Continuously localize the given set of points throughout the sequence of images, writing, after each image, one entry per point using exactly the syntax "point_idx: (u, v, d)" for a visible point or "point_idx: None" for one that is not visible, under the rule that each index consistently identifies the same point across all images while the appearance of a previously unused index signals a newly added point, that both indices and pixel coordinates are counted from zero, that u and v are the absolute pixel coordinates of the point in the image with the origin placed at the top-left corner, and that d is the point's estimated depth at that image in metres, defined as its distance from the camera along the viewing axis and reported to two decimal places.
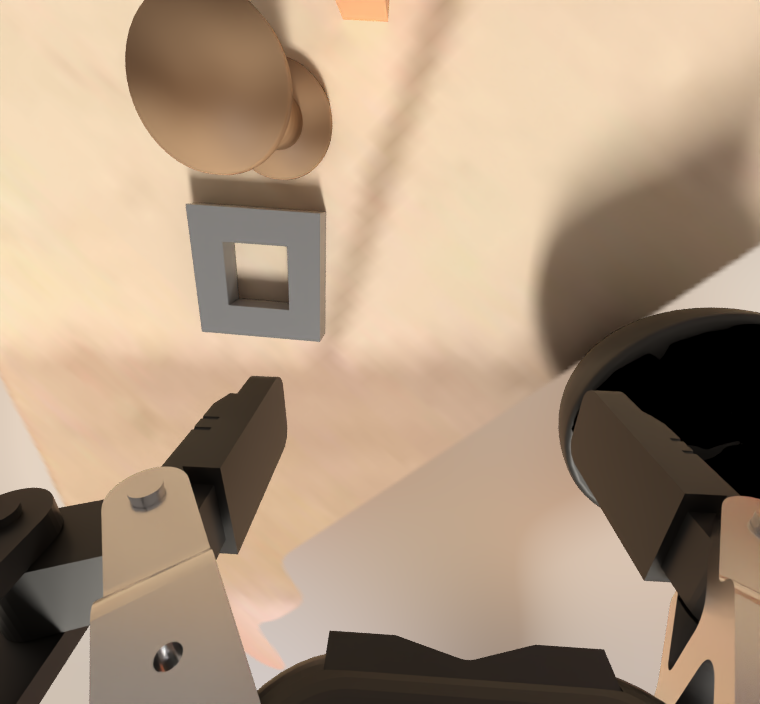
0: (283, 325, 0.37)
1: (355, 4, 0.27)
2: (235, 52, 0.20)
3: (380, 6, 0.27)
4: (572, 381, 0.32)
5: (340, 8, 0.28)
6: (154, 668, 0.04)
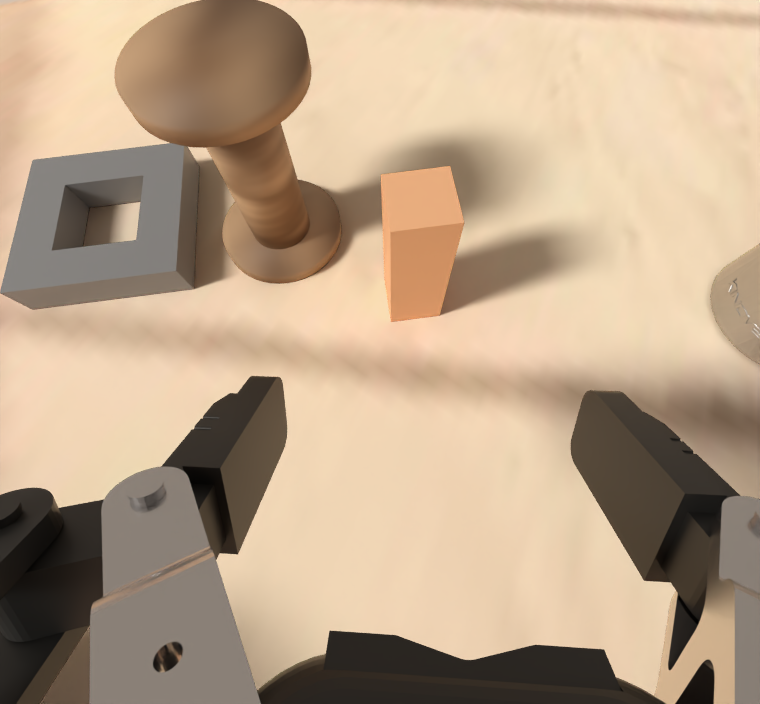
0: (31, 246, 0.27)
1: (386, 274, 0.25)
2: (243, 78, 0.17)
3: (390, 299, 0.25)
4: None
5: (384, 267, 0.27)
6: (154, 668, 0.04)
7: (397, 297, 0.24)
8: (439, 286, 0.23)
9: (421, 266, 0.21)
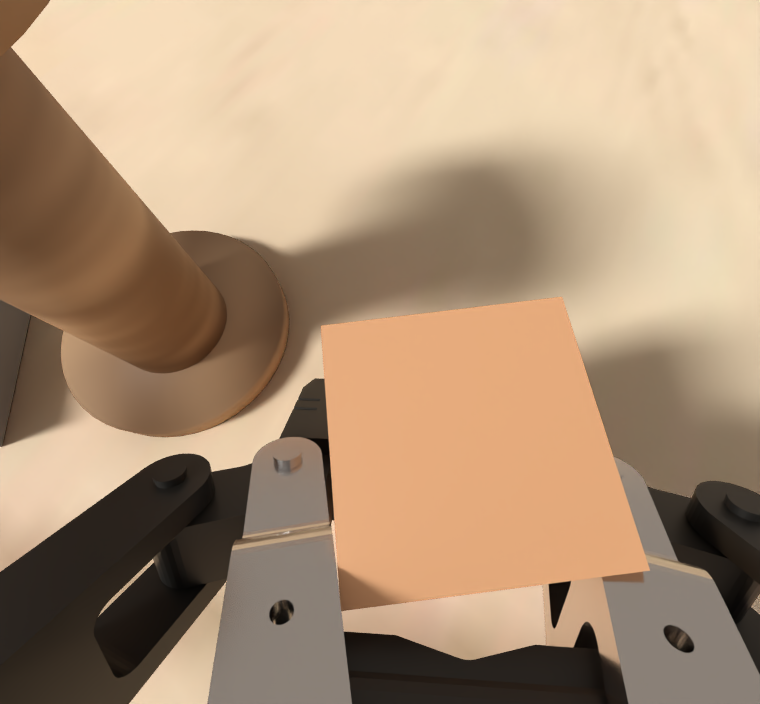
0: None
1: None
2: None
3: None
4: None
5: None
6: (269, 617, 0.04)
7: None
8: None
9: None
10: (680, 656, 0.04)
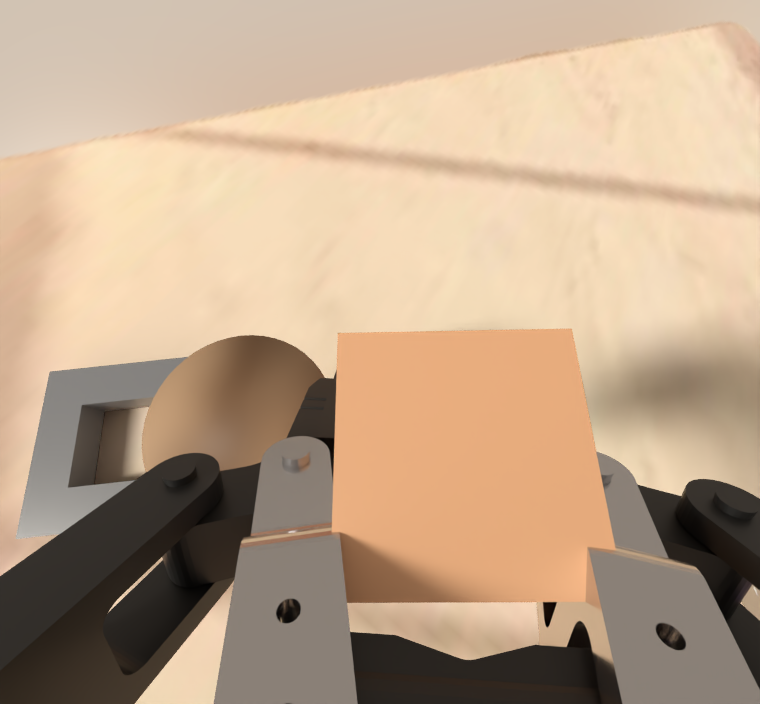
0: (47, 481, 0.27)
1: None
2: None
3: None
4: None
5: None
6: (276, 616, 0.04)
7: None
8: None
9: None
10: (672, 654, 0.04)
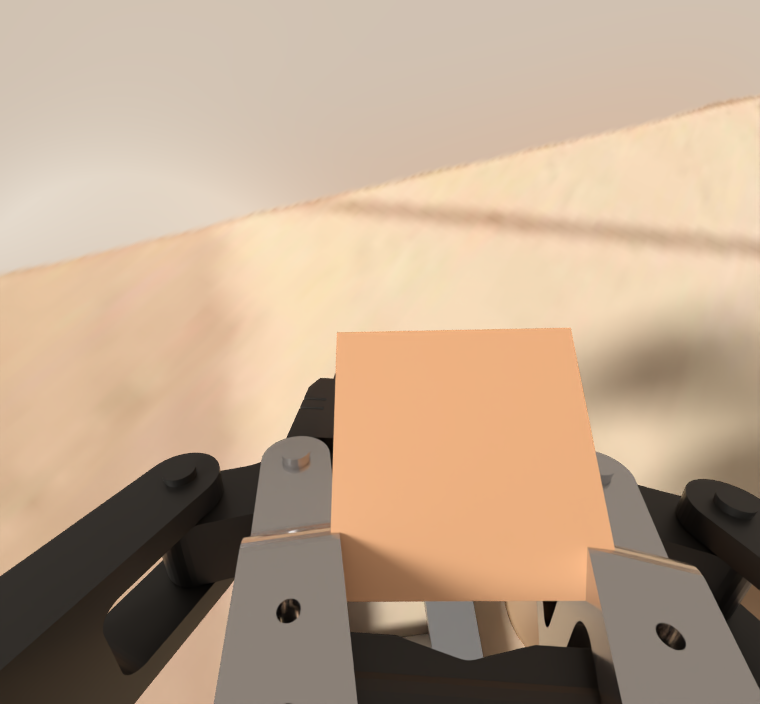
0: None
1: None
2: None
3: None
4: None
5: None
6: (276, 616, 0.04)
7: None
8: None
9: None
10: (672, 654, 0.04)
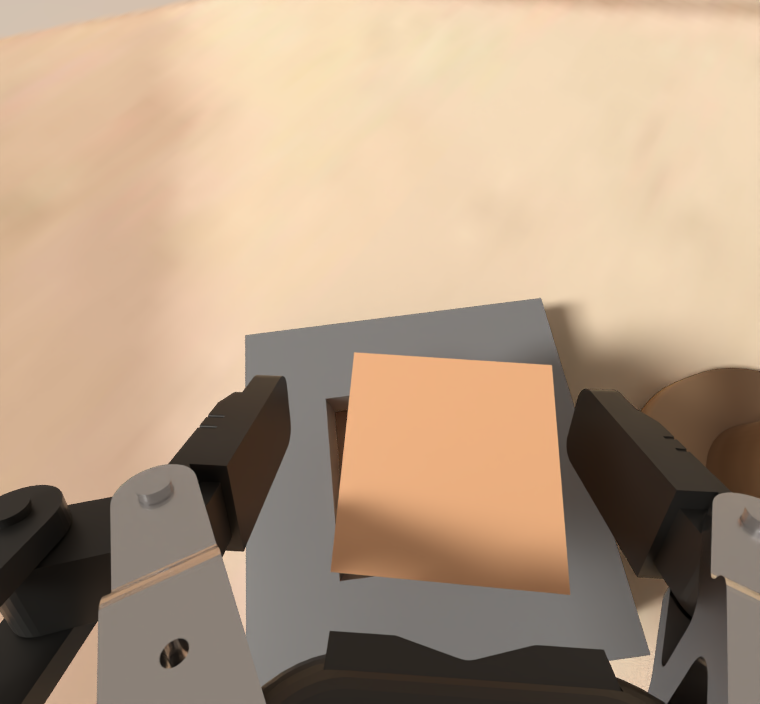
0: (290, 566, 0.12)
1: None
2: None
3: None
4: None
5: None
6: (161, 664, 0.04)
7: None
8: None
9: None
10: None
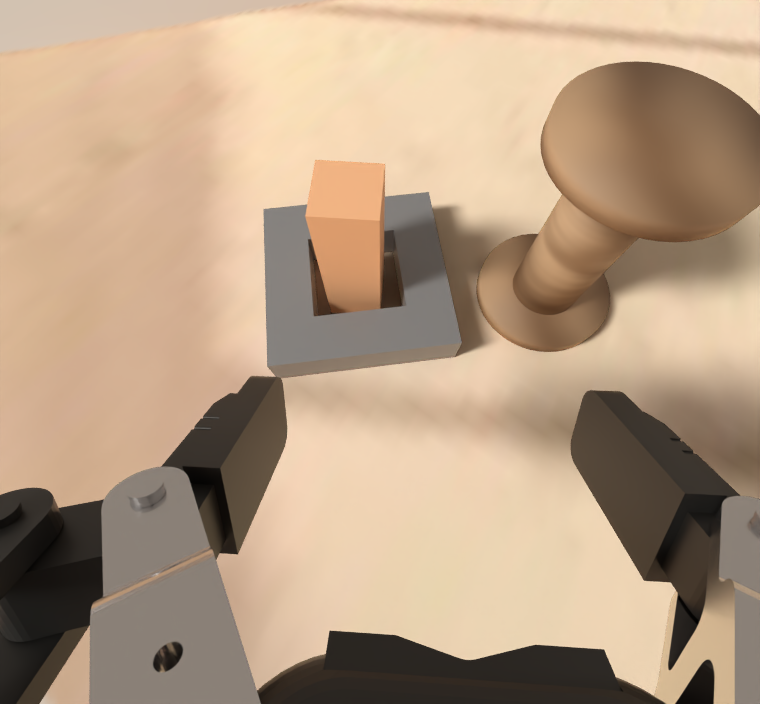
0: (288, 310, 0.24)
1: None
2: (715, 163, 0.15)
3: None
4: None
5: None
6: (154, 668, 0.04)
7: (331, 288, 0.24)
8: (371, 284, 0.23)
9: (346, 258, 0.21)
10: None
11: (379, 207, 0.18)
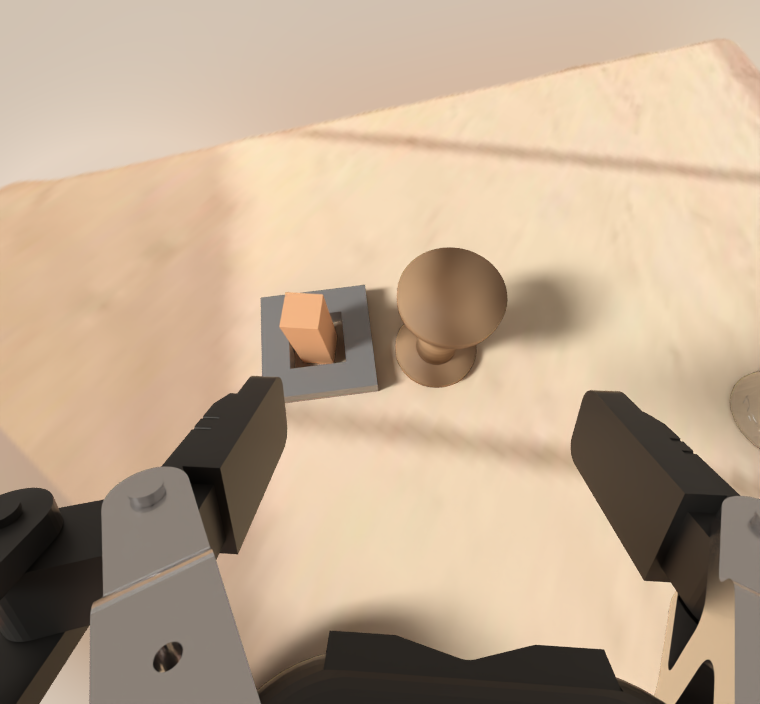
0: (275, 365, 0.41)
1: None
2: (474, 310, 0.31)
3: None
4: None
5: None
6: (154, 668, 0.04)
7: (300, 352, 0.40)
8: (323, 351, 0.39)
9: (305, 341, 0.37)
10: None
11: (318, 321, 0.34)
